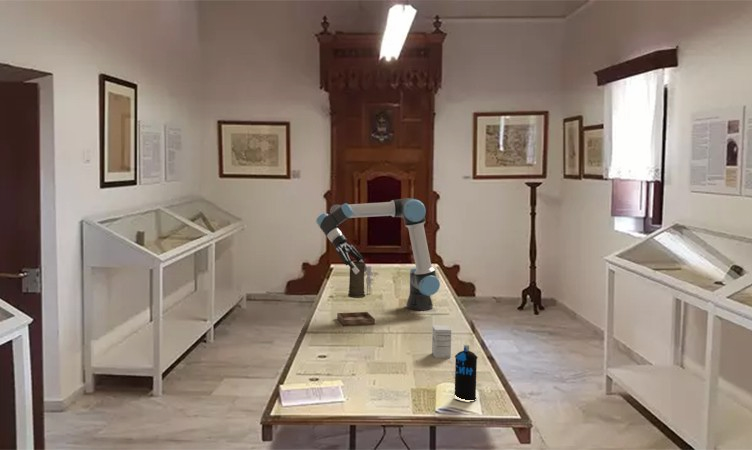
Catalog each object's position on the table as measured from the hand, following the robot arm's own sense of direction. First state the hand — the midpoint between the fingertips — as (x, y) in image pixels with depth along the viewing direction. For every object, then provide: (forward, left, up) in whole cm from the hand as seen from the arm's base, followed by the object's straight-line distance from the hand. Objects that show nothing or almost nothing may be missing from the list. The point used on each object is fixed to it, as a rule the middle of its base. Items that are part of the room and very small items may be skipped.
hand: (362, 271), depth 377 cm
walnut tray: (+3, -2, -27) cm, 27 cm away
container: (+2, -2, -14) cm, 14 cm away
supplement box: (-21, +67, -27) cm, 75 cm away
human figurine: (-21, -70, -27) cm, 78 cm away
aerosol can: (-11, +122, -27) cm, 125 cm away
